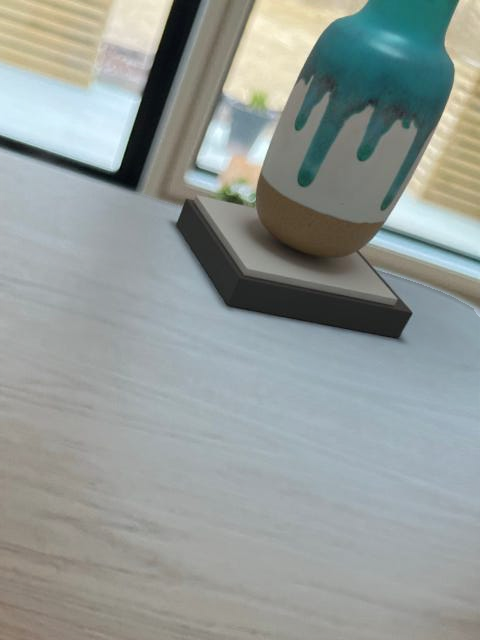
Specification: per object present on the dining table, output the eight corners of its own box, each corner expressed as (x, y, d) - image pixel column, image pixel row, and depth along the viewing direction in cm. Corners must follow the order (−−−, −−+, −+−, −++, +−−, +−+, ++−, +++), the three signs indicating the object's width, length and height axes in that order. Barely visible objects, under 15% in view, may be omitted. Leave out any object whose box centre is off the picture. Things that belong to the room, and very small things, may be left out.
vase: (278, 272, 77) (414, -21, 64) (213, 207, 83) (324, -70, 71) (387, 285, 81) (535, 13, 68) (317, 222, 88) (439, -36, 75)
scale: (331, 257, 91) (346, 226, 89) (398, 338, 81) (417, 305, 80) (175, 224, 87) (188, 190, 85) (227, 305, 77) (243, 270, 75)
